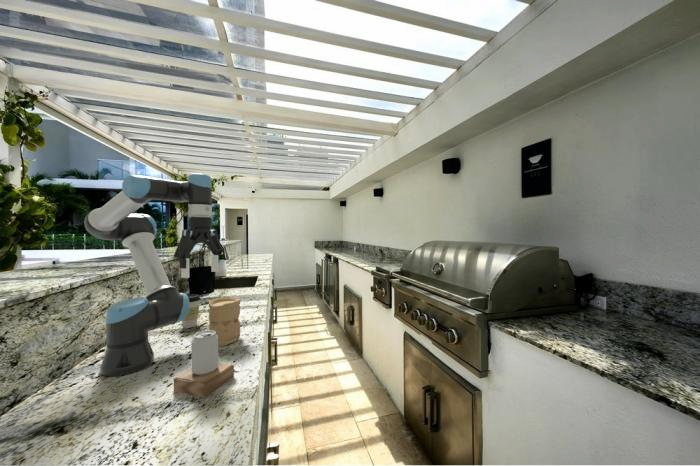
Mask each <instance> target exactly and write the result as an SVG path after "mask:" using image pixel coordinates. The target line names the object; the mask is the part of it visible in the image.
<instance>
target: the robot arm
mask: <svg viewBox="0 0 700 466" xmlns="http://www.w3.org/2000/svg"><path fill="white" fill-rule="evenodd" d="M121 186H122V187H121V189H122V190H121V191H120V192H119V193H117V194H116V195H115V196H113V197H112V198H111V199H110V200H108V201H107V202H106V203H105V204H104V205H102V206H101V207H99V208H95V209H93V210H91V211H90V212H88V213H87V215H86V216H85V218H84V220H83V221H84V222H83V223H84V228H85V229H86V231H87V233H89V234H90V235H91V236H92V237H95V238H97V239H99V240H105V241H121V244H122V246H123V247H124V248H127V249H129V253H130V255H131V258H132V260H133V263H134V265H135V268H136V270H137V273H138V274H139V275H138V276H139V278H140V280H141V283H142V285H143V287H144V289H145V293H146V295H145V297H144V296H143V297H141V296H140V297H134V298H128V299H124V300H121V301H118V302H115V303H113V304H111V305H110V306H108V308H107V310H106V317H105V327H106V328H105V329H106V330H105V331H106V350H105V352H104V355H103V358H102V361H101V363H100V367H99V372H100V375H102V376H103V377H118V376H125V375H128V374H133V373H135V372H139V371H141V370H143V369H145V368H147V367H149V366H150V365H152V364H153V362H154V361H155V353H154V350H153V348H152V346H151V344H150V341H149V332H150V331H154V330H157V329H160V328H164V327H167V326H171V325H175V324H177V323H179V322H182V320H184V319H185V318H186V317H187V315H188V313H189V309H190V302H189V298H188V296H187V295H188V294H186V293H185V292H179V290H178V288H177V287H176V286H173V285H171V283H170V281H169V277H168V275H167V272H166V271H165V269H164V266H163V264H162V262H161V259H160V257H159V255H158V251H157V250H156V248H155V247H156V246H155V245H154V242H153V241H154V240H155V237H156V236H157V233H158V229H157V223H156V221H155V219H154V218H153V216H151V215H149V214H145V213H138V212H137V213H134V212H136V211H137V210H139V209H140V208H141V207H142V206H144V205H146V204H147V203H148V202H150V201H151V200H155V201H156V200H157V201H168V202H170V201H171V202H173V203H179V204H181V203H188V216H189V218H188V227H189V228H190V229H183V230H182V232H181V237H180V239H179V243H178V244H177V246H176V249H175V252H174V254H173V257H174V258H176V259H179V269H180V274H181V275H180V276H181V279H182V278H183V279H189V278H190V258H188V257H189V255H190V254H191V252H193V249H194V248H195V247H196V245H197V244H198V243H205V245H206V246H207V248H208V249H209V250H210V252H211V257H210V258H211V259H210V260H211V262H210V264H211V267H210V269H211V271H210V272H212V273H213V272H214V273H218V272H219V271H220V270H219V264H220V256H221V255H223V253H224V249H223V245H222V243H221V241H220V238H219V235H218V230H217V229H211V228H212V227H213V218H212V217H211V216H212V214H213V213H212V211H213V205H212V204H213V203H212V202H213V201H212V199H213V192H212V191H213V186H212V178H211V176H210V175H208V174H204V173H190V174H189V175H188V179H187V181H177V180H171V179H164V178H157V177H151V176H146V175H141V174H140V175H139V174H138V175H137V174H128V175H126V176H125V177H124V178H123V181H122V185H121Z"/></svg>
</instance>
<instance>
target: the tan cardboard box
mask: <svg viewBox="0 0 700 466" xmlns="http://www.w3.org/2000/svg"><path fill="white" fill-rule="evenodd" d="M234 378H235V366H234V364H229V363H225V362H219V361H218V367H217V368H216V369H215V370H214V371H213V372H212V373H210V374H207V375H196V374H194V373H193V372H192V367H191V368H189V369H187V370H185V371H184V372H183V373H180V374H179V375H177V376H175V377H174V378H173V392H174V393H179V394H184V395H189V396H192V397H193V396H194V397H198V398H204V399H207V398H209V397H210V396H211V395H212V394H213V393H215V392H216V391H217V390H219V389H220V388H221V387H223V386H224V385H225V384H227V383H228V382H229V381H231V379H234Z"/></svg>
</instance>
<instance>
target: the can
mask: <svg viewBox="0 0 700 466" xmlns="http://www.w3.org/2000/svg"><path fill="white" fill-rule="evenodd" d="M215 333H216V332H215V331H212V330H209V329H208V330H202V331H199V332H196V333H195V334H194V335H193V337H192V339H191V346H190V347H191V368H192V372H193V373H194V374H196V375H207V374H210V373H212V372H213V371H214V370H215V369H216V368H217V367H218V362H219V347H218V336H217V335H216V334H215Z"/></svg>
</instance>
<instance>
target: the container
mask: <svg viewBox="0 0 700 466" xmlns="http://www.w3.org/2000/svg"><path fill="white" fill-rule="evenodd" d="M240 304H241V299H240V297H238V296H223V297H222V296H221V297H217V298H213V299H211V300H209V301H208V321H209V323H208V330H212V331H215V332H216V333H215V334H216V335H217V336H218V348H219V347H225V346H227V345H229V344H232V343H236V341H237V339H239V338H240V337H241V322H240V319H239V318H240V314H241V305H240Z"/></svg>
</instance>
